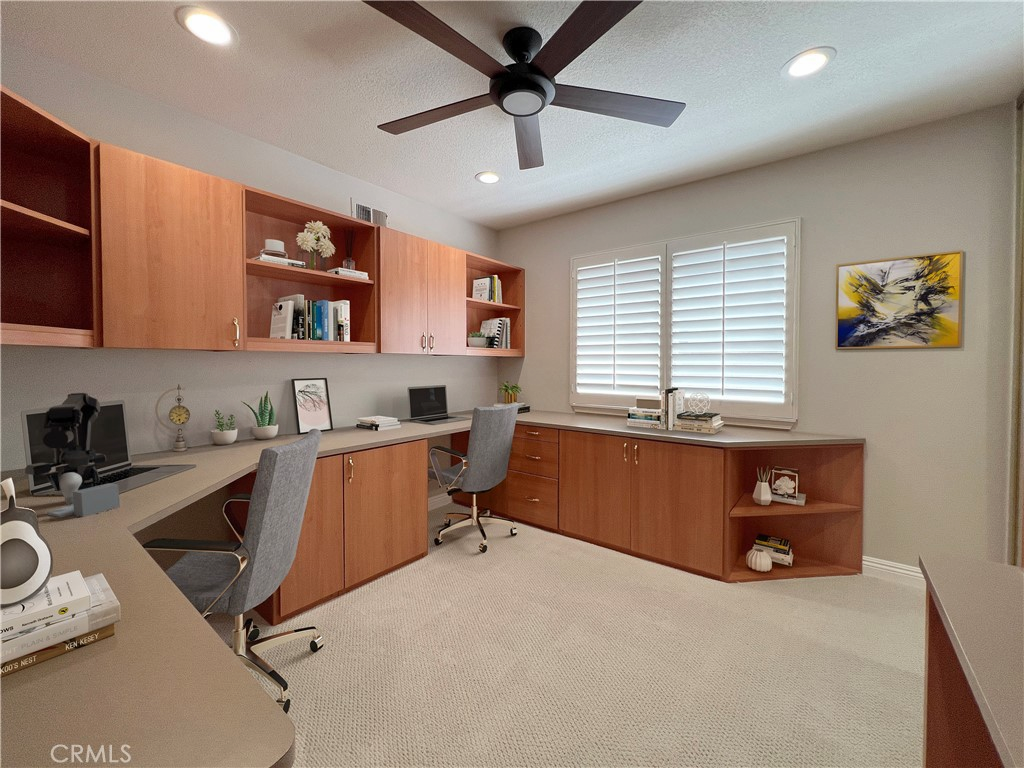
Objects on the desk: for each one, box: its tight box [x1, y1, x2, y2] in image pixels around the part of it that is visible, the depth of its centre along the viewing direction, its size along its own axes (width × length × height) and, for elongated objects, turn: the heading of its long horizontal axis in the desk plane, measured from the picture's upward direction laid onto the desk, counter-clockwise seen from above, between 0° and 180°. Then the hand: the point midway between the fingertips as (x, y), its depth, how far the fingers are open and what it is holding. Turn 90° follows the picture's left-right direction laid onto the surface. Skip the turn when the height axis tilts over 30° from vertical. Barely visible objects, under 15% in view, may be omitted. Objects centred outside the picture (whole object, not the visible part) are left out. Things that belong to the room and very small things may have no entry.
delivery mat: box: [45, 504, 74, 518], centre depth 146 cm, size 9×9×1 cm
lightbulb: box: [58, 472, 82, 505], centre depth 146 cm, size 6×6×11 cm
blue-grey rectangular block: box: [72, 482, 121, 518], centre depth 146 cm, size 5×10×8 cm, turn 160°
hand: (69, 488), depth 146 cm, fingers closed on lightbulb, 6 cm apart
